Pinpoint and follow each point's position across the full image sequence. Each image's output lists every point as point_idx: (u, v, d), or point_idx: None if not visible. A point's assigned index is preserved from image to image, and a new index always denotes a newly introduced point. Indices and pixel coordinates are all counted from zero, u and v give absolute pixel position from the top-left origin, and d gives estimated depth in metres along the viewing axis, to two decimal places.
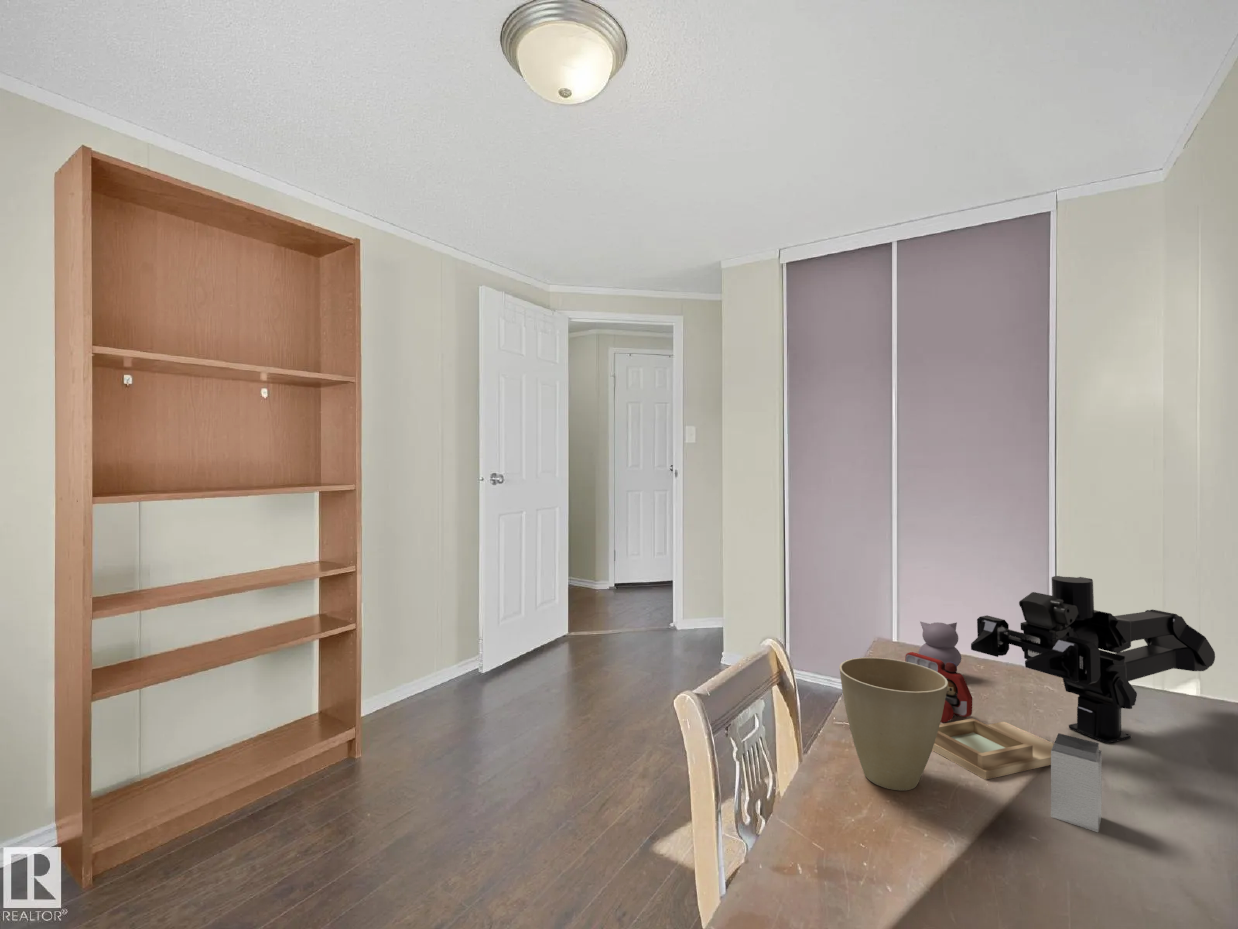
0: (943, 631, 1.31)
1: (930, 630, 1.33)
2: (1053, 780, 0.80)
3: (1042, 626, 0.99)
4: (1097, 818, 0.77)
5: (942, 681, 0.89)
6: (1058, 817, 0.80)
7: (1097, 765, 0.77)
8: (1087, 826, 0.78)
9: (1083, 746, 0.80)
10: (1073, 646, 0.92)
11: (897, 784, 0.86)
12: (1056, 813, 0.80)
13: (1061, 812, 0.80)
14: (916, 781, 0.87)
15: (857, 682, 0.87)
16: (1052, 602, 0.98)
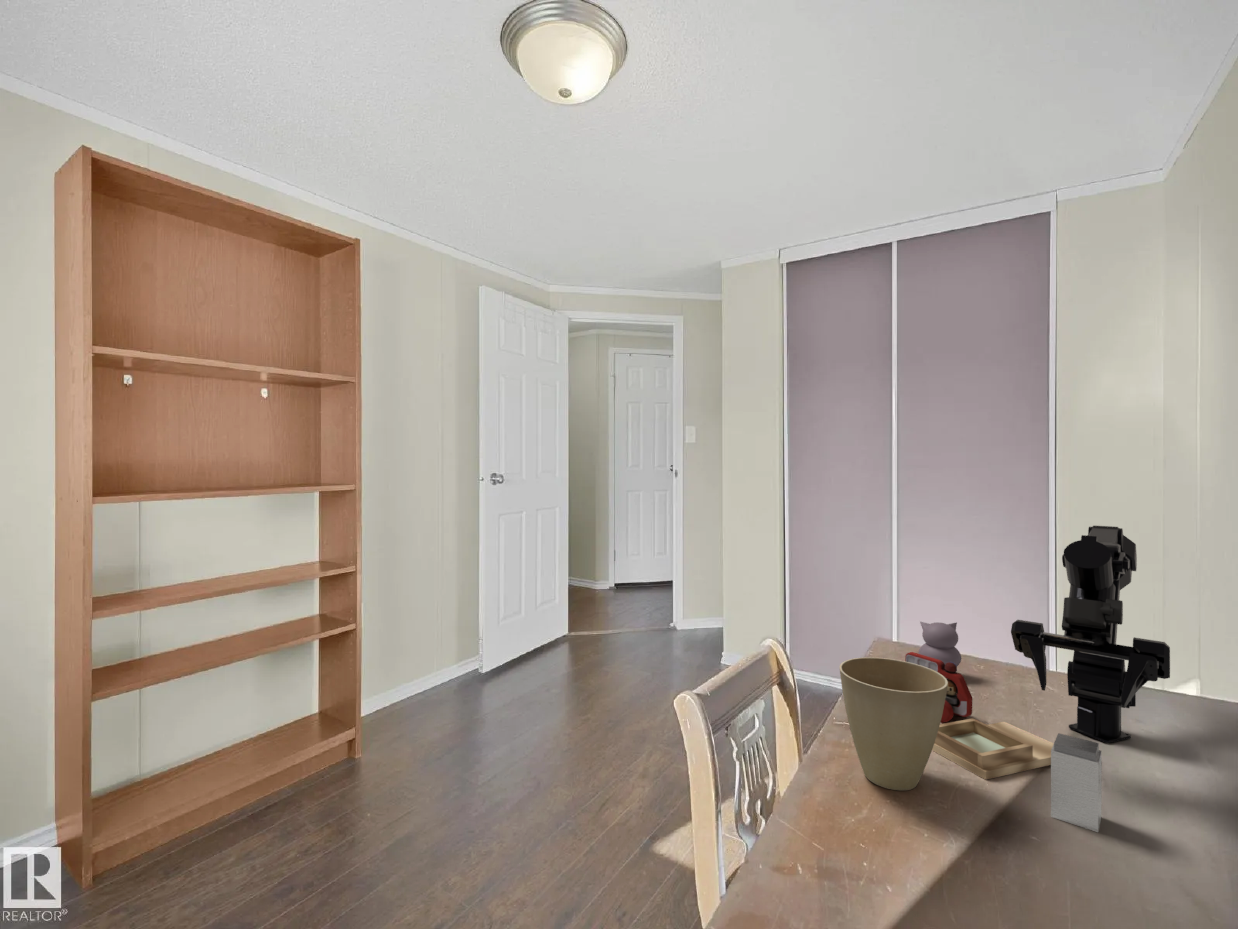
0: (943, 630, 1.31)
1: (930, 630, 1.33)
2: (1053, 780, 0.80)
3: (1089, 626, 0.90)
4: (1097, 818, 0.77)
5: (942, 681, 0.89)
6: (1058, 817, 0.80)
7: (1097, 764, 0.77)
8: (1087, 826, 0.78)
9: (1083, 746, 0.80)
10: (1151, 660, 0.83)
11: (897, 784, 0.86)
12: (1056, 813, 0.80)
13: (1061, 812, 0.80)
14: (916, 781, 0.87)
15: (857, 682, 0.87)
16: (1103, 612, 0.86)
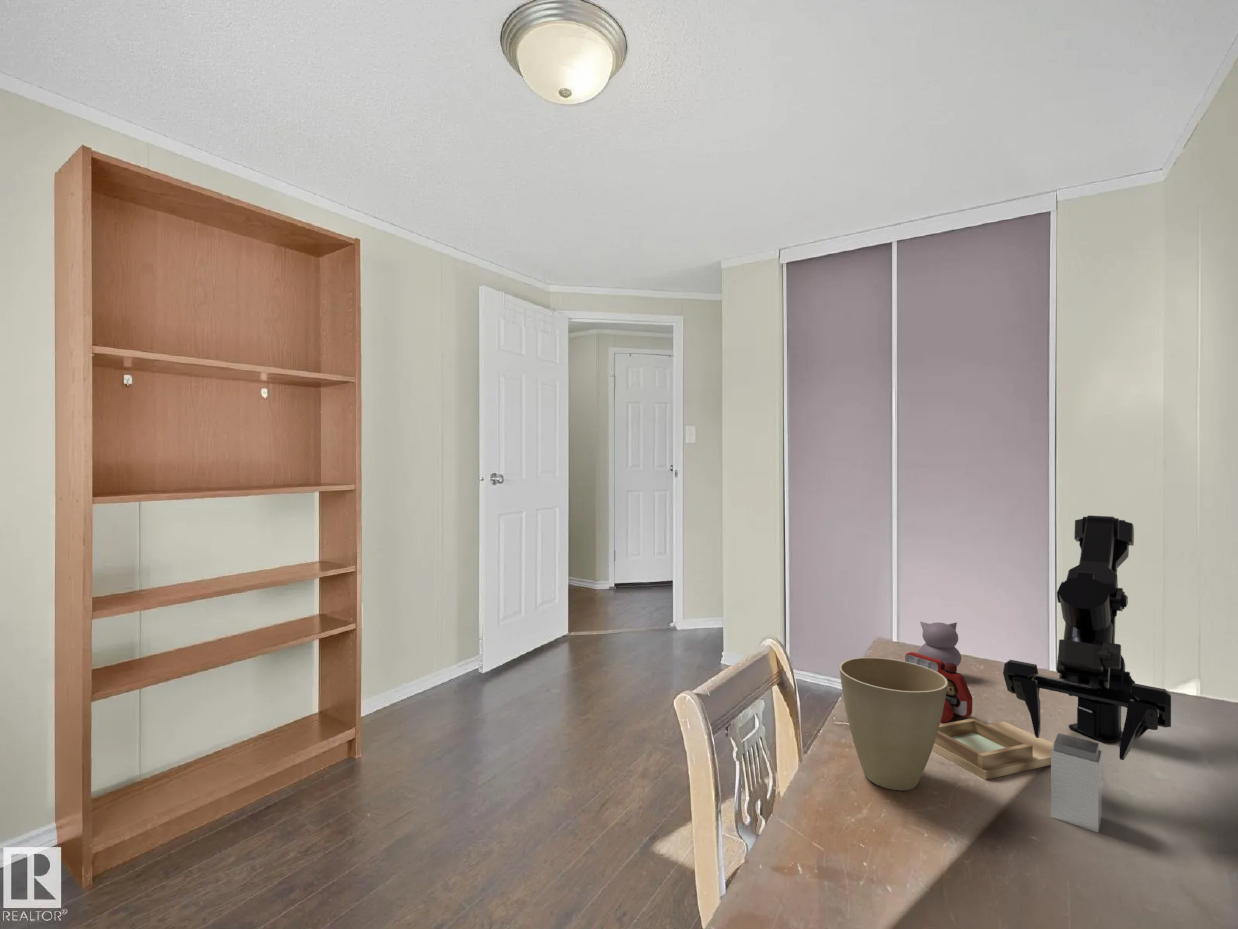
0: (943, 631, 1.31)
1: (930, 630, 1.33)
2: (1053, 780, 0.80)
3: (1085, 670, 0.85)
4: (1097, 818, 0.77)
5: (942, 681, 0.89)
6: (1058, 817, 0.80)
7: (1097, 765, 0.77)
8: (1087, 826, 0.78)
9: (1083, 746, 0.80)
10: (1151, 709, 0.78)
11: (897, 784, 0.86)
12: (1056, 813, 0.80)
13: (1061, 812, 0.80)
14: (916, 781, 0.87)
15: (857, 682, 0.87)
16: (1100, 656, 0.81)
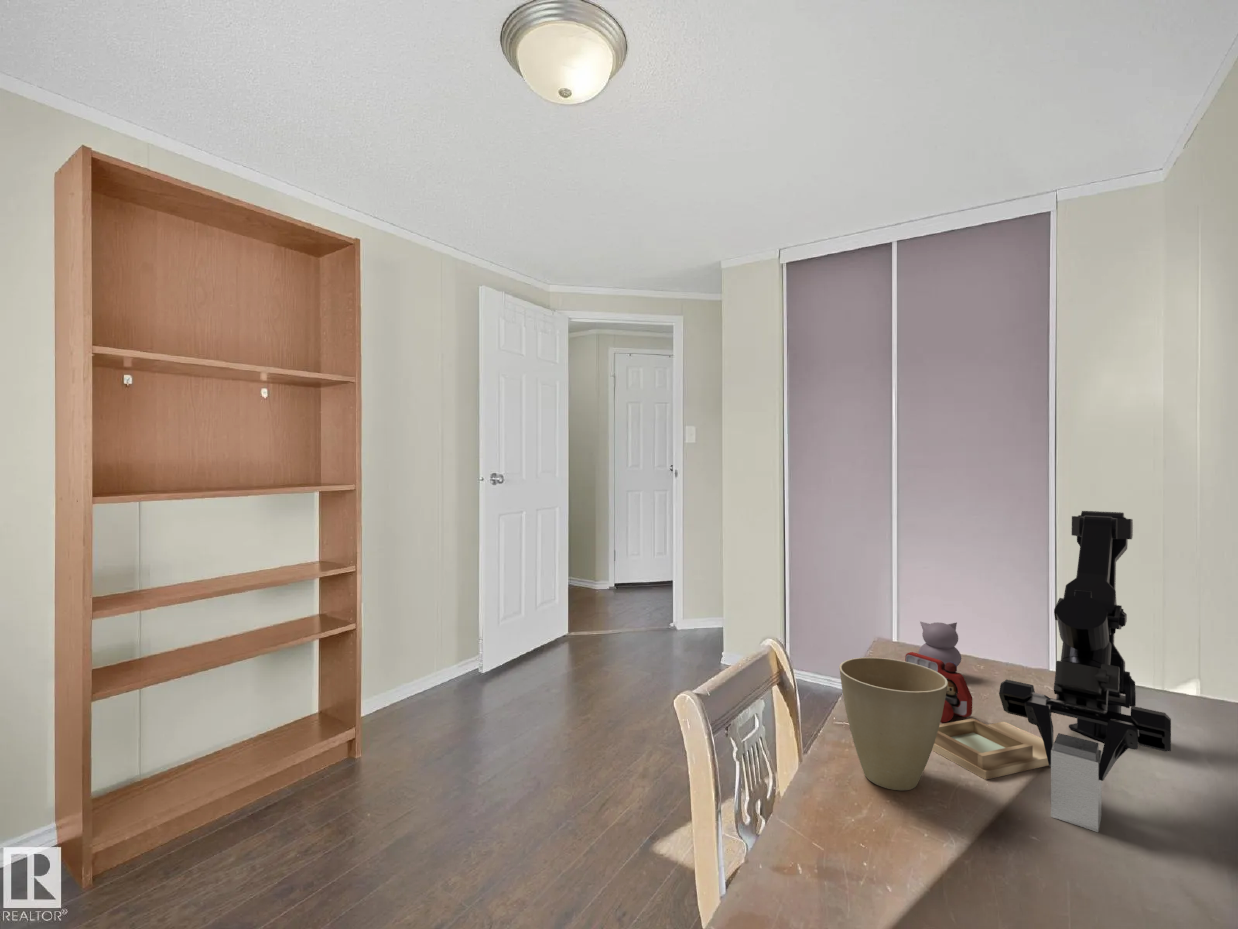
0: (943, 631, 1.31)
1: (930, 630, 1.33)
2: (1053, 780, 0.80)
3: (1083, 691, 0.83)
4: (1097, 818, 0.77)
5: (942, 681, 0.89)
6: (1058, 817, 0.80)
7: (1097, 764, 0.77)
8: (1087, 826, 0.78)
9: (1083, 746, 0.80)
10: (1131, 729, 0.78)
11: (897, 784, 0.86)
12: (1056, 813, 0.80)
13: (1061, 812, 0.80)
14: (916, 781, 0.87)
15: (857, 682, 0.87)
16: (1098, 679, 0.79)
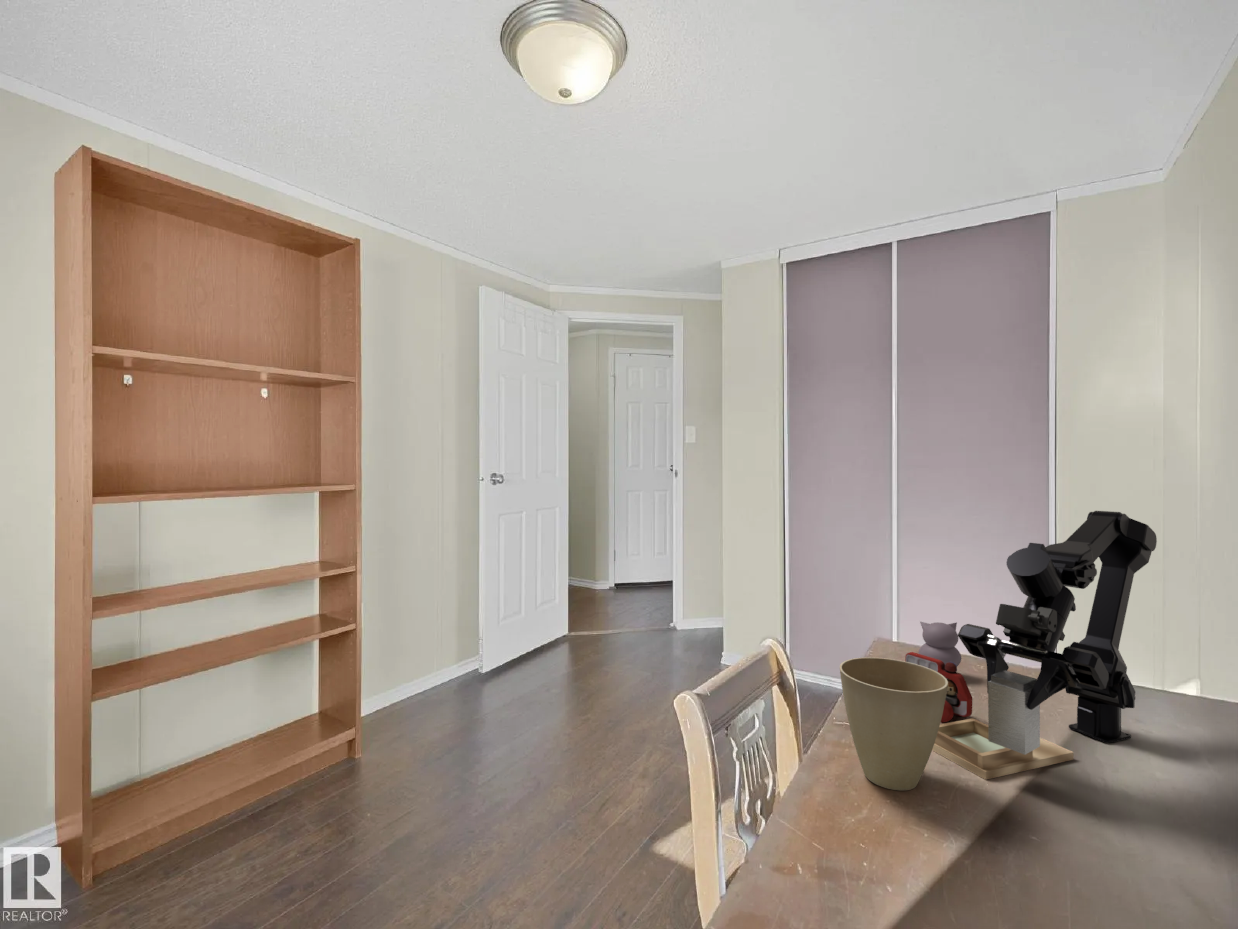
0: (943, 631, 1.31)
1: (930, 630, 1.33)
2: (990, 708, 0.90)
3: (1027, 633, 0.91)
4: (1024, 742, 0.86)
5: (942, 681, 0.89)
6: (994, 741, 0.90)
7: (1024, 694, 0.86)
8: (1016, 749, 0.87)
9: (1017, 679, 0.88)
10: (1060, 665, 0.85)
11: (897, 784, 0.86)
12: (992, 737, 0.90)
13: (996, 736, 0.89)
14: (916, 781, 0.87)
15: (857, 682, 0.87)
16: (1030, 619, 0.87)
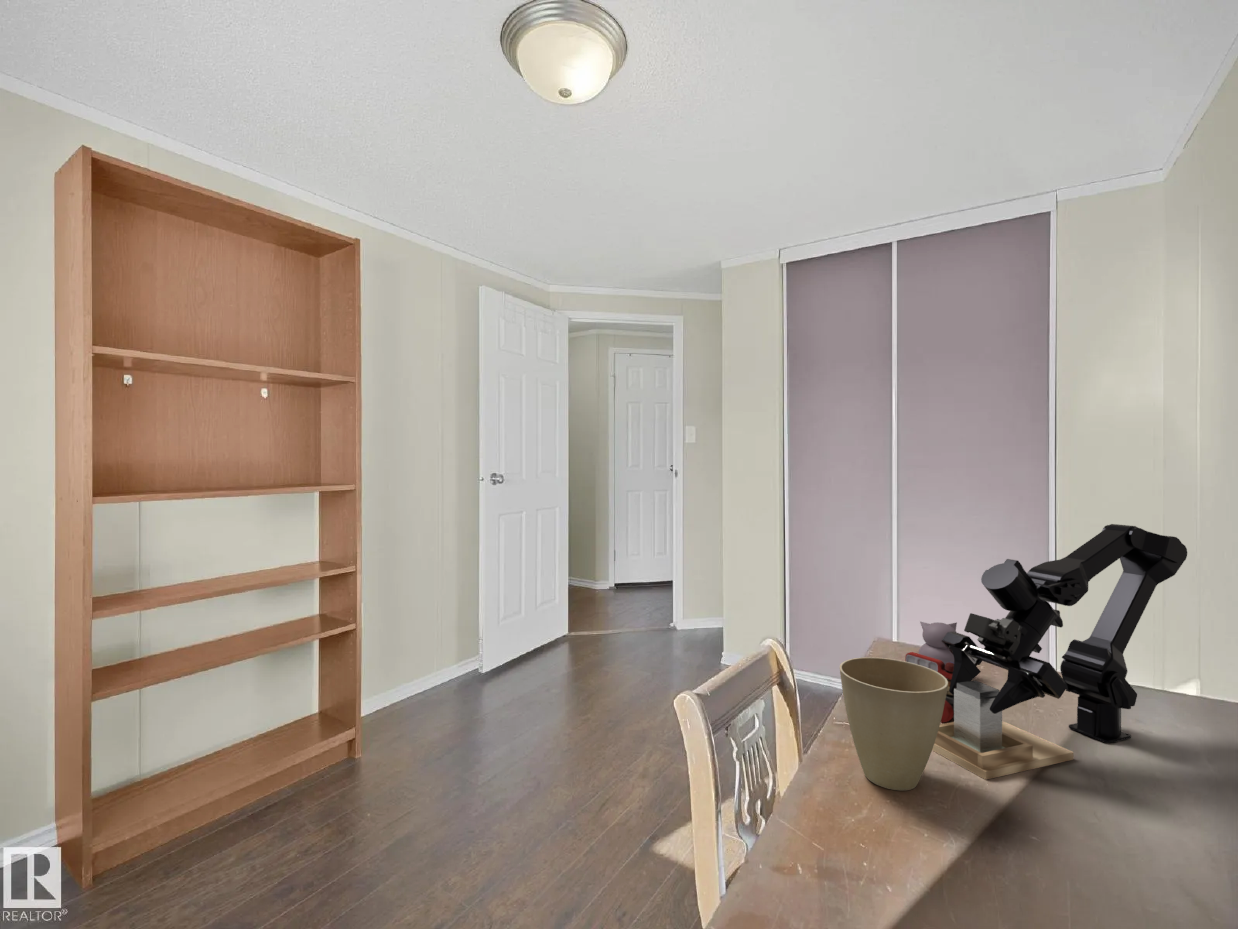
0: (943, 631, 1.31)
1: (930, 630, 1.33)
2: (955, 713, 0.99)
3: (996, 642, 0.98)
4: (979, 745, 0.94)
5: (942, 681, 0.89)
6: None
7: (979, 701, 0.94)
8: None
9: (979, 688, 0.96)
10: (1022, 675, 0.91)
11: (897, 784, 0.86)
12: None
13: (959, 739, 0.98)
14: (916, 781, 0.87)
15: (857, 682, 0.87)
16: (990, 628, 0.95)
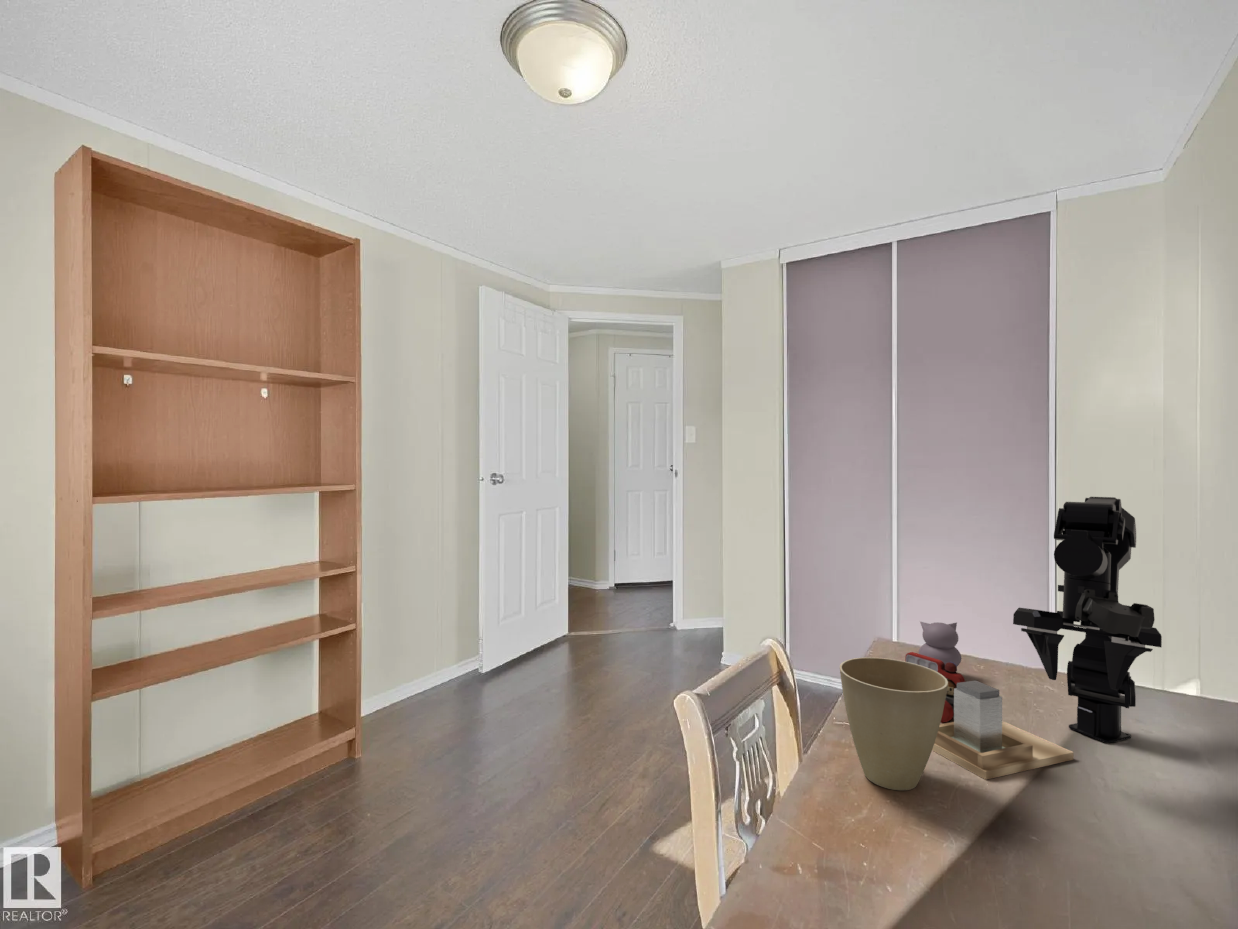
0: (943, 631, 1.31)
1: (930, 630, 1.33)
2: (955, 713, 0.99)
3: None
4: (979, 745, 0.94)
5: (942, 681, 0.89)
6: None
7: (979, 701, 0.94)
8: None
9: (979, 688, 0.96)
10: (1148, 651, 0.89)
11: (897, 784, 0.86)
12: None
13: (959, 739, 0.98)
14: (916, 781, 0.87)
15: (857, 682, 0.87)
16: (1142, 626, 0.85)
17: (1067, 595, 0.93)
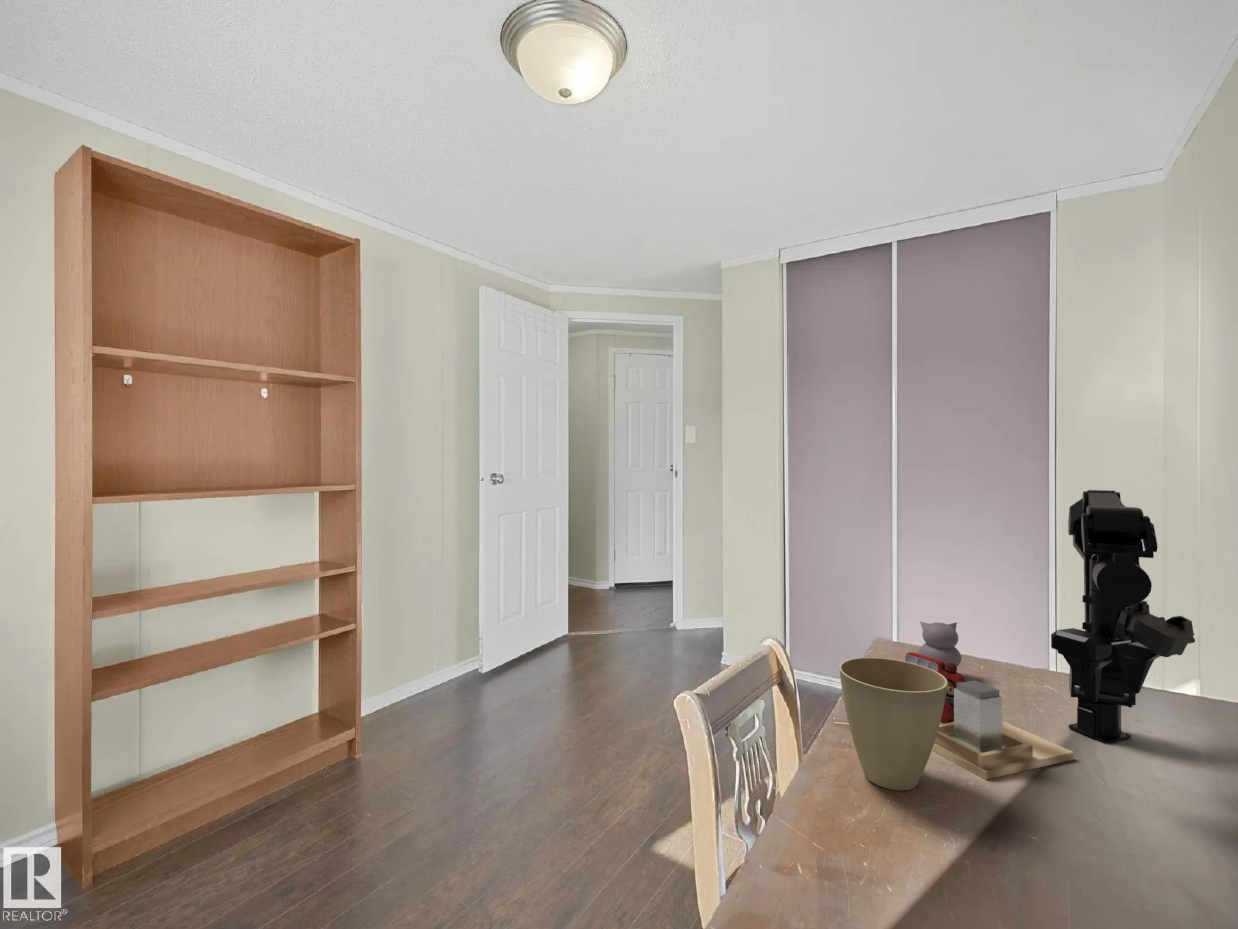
0: (943, 631, 1.31)
1: (930, 630, 1.33)
2: (955, 713, 0.99)
3: None
4: (979, 745, 0.94)
5: (942, 681, 0.89)
6: None
7: (979, 701, 0.94)
8: None
9: (979, 688, 0.96)
10: None
11: (897, 784, 0.86)
12: None
13: (959, 739, 0.98)
14: (916, 781, 0.87)
15: (857, 682, 0.87)
16: (1187, 643, 0.82)
17: (1100, 610, 0.88)
